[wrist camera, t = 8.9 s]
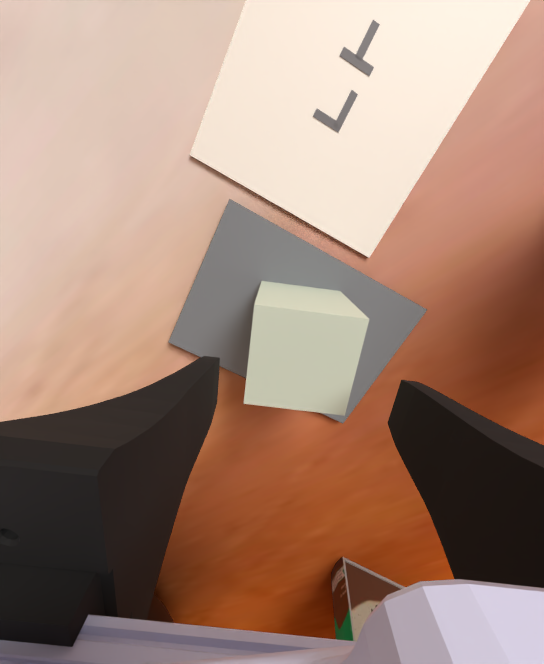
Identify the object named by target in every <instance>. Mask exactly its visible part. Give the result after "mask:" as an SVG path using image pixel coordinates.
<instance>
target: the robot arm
mask: <svg viewBox="0 0 544 664" xmlns="http://www.w3.org/2000/svg"><path fill="white" fill-rule="evenodd" d="M219 365H220V358H218V357H210V356H203V357H201V358H199V359H197V360H196V361H194V362H192V363H191V364H189V365H187V366H186V367H184V368H182V369H180V370H179V371H177V372H175V373H173V374H171V375H169V376H167V377H165V378H163V379H161V380H159V381H157V382H155V383H153V384H151V385H149V386H147V387H144V388H142V389H139V390H137V391H134V392H132V393H129V394H126V395H123V396H120V397H117V398H114V399H110V400H107V401H104V402H100V403H97V404H94V405H90V406H86V407H82V408H77V409H73V410H68V411H64V412H59V413H54V414H49V415H43V416H37V417H30V418H24V419H17V420H10V421H4V422H0V664H544V445H541V444H539V443H537V442H535V441H533V440H530V439H528V438H526V437H524V436H521V435H519V434H517V433H515V432H513V431H511V430H509V429H506V428H504V427H502V426H501V425H499V424H497V423H495V422H493V421H491V420H489V419H487V418H485V417H483V416H481V415H479V414H477V413H476V412H474V411H472V410H470V409H468V408H466V407H465V406H463V405H461V404H459V403H457V402H456V401H454V400H452V399H450V398H448V397H447V396H445V395H443V394H441V393H439V392H438V391H436V390H434V389H432V388H430V387H428V386H426V385H424V384H421V383H419V382H415V381H406V380H401V383H400V386H399V389H398V392H397V396H396V399H395V402H394V405H393V408H392V411H391V414H390V417H389V421H388V425H389V428H390V431H391V434H392V437H393V440H394V443H395V446H396V448H397V450H398V452H399V454H400V456H401V458H402V460H403V462H404V464H405V466H406V468H407V469H408V471H409V473H410V475H411V477H412V479H413V481H414V483H415V485H416V487H417V489H418V491H419V493H420V495H421V496H422V498H423V500H424V502H425V505H426V507H427V509H428V511H429V513H430V515H431V518H432V520H433V523H434V525H435V528H436V530H437V533H438V535H439V538H440V540H441V543H442V546H443V548H444V551H445V554H446V557H447V559H448V562H449V565H450V568H451V570H452V573H453V576H454V578H455V579H454V580H438V581H421V582H418V583H416V584H413V585H411V586H408V587H406V588H403V589H401V590H398V591H396V592H394V593H391V594H389V595H387V596H386V597H385V598H384V599H383V600H382V601H381V602H380V603H379V605H378V606H377V607H376V608H375V609H374V610H373V611H372V612H371V613H370V615H369V616H368V618H367V619H366V621H365V623H364V624H363V627H362V629H361V632H360V634H359V637H358V639H357V642H356V641H346V640H336V639H327V638H317V637H307V636H297V635H287V634H277V633H267V632H257V631H248V630H238V629H228V628H218V627H208V626H198V625H188V624H179V623H169V622H159V621H149V620H147V616H148V613H149V609H150V605H151V602H152V598H153V594H154V591H155V587H156V584H157V580H158V577H159V573H160V570H161V566H162V563H163V559H164V556H165V552H166V548H167V545H168V542H169V538H170V535H171V532H172V528H173V525H174V522H175V518H176V515H177V512H178V508H179V505H180V502H181V499H182V496H183V492H184V489H185V486H186V483H187V481H188V478H189V475H190V473H191V471H192V468H193V466H194V463H195V461H196V459H197V456H198V454H199V452H200V449H201V447H202V445H203V442H204V440H205V437H206V435H207V433H208V430H209V428H210V425H211V422H212V419H213V415H214V412H215V408H216V404H217V395H218V380H219Z"/></svg>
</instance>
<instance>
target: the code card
mask: <svg viewBox="0 0 544 664" xmlns="http://www.w3.org/2000/svg"><path fill="white" fill-rule="evenodd" d="M529 1H530V0H246V2H245V4H244V7H243V10H242V13H241V15H240V18H239V21H238V24H237V26H236V29H235V32H234V35H233V37H232V40H231V43H230V45H229V48H228V51H227V54H226V56H225V59H224V62H223V65H222V67H221V70H220V73H219V76H218V78H217V81H216V84H215V87H214V89H213V92H212V95H211V98H210V100H209V103H208V106H207V109H206V111H205V114H204V117H203V119H202V122H201V125H200V128H199V130H198V133H197V136H196V139H195V141H194V144H193V147H192V150H191V152H190V156H192V157H194V158H195V159H197V160H199V161H201V162H202V163H204V164H206V165H208V166H209V167H211V168H213V169H215V170H216V171H218V172H220V173H222V174H223V175H225V176H227V177H229V178H230V179H232V180H234V181H236V182H237V183H239V184H241V185H243V186H244V187H246V188H248V189H249V190H251V191H253V192H255V193H256V194H258V195H260V196H262V197H263V198H265V199H267V200H269V201H270V202H272V203H274V204H276V205H277V206H279V207H281V208H283V209H284V210H286V211H288V212H290V213H291V214H293V215H295V216H297V217H298V218H300V219H302V220H304V221H305V222H307V223H309V224H311V225H312V226H314V227H316V228H318V229H319V230H321V231H323V232H325V233H326V234H328V235H330V236H332V237H333V238H335V239H337V240H338V241H340V242H342V243H344V244H345V245H347V246H349V247H351V248H352V249H354V250H356V251H358V252H359V253H361V254H363V255H365V256H366V257H368V258H369V257H370V256H371V254H372V252H373V251H374V249H375V248H376V246H377V244H378V243H379V241H380V240H381V238H382V236H383V235H384V233H385V232H386V230H387V228H388V227H389V225H390V224H391V222H392V220H393V219H394V217H395V216H396V214H397V212H398V211H399V209H400V208H401V206H402V204H403V203H404V201H405V200H406V198H407V196H408V195H409V193H410V192H411V190H412V188H413V187H414V185H415V184H416V182H417V181H418V179H419V177H420V176H421V174H422V173H423V171H424V169H425V168H426V166H427V165H428V163H429V161H430V160H431V158H432V157H433V155H434V153H435V152H436V150H437V149H438V147H439V145H440V144H441V142H442V141H443V139H444V137H445V136H446V134H447V133H448V131H449V129H450V128H451V126H452V125H453V123H454V121H455V120H456V118H457V117H458V115H459V113H460V112H461V110H462V109H463V107H464V105H465V104H466V102H467V101H468V99H469V97H470V96H471V94H472V93H473V91H474V89H475V88H476V86H477V85H478V83H479V81H480V80H481V78H482V77H483V75H484V73H485V72H486V70H487V69H488V67H489V65H490V64H491V62H492V61H493V59H494V57H495V56H496V54H497V53H498V51H499V49H500V48H501V46H502V45H503V43H504V41H505V40H506V38H507V37H508V35H509V33H510V32H511V30H512V29H513V27H514V25H515V24H516V22H517V21H518V19H519V17H520V16H521V14H522V13H523V11H524V9H525V8H526V6H527V5H528V3H529Z"/></svg>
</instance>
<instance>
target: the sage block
mask: <svg viewBox="0 0 544 664" xmlns="http://www.w3.org/2000/svg"><path fill="white" fill-rule="evenodd" d="M368 323H369V318H368V317H367V316H366V315H365V314H364V313H363V312H362V311H360V310H359V309H358V308H357V307H356V306H355V305H354V304H353V303H352V302H351V301H350V300H349V299H348V298H347V297H346V296H345V295H344V294H343V293H342V292H341V291H336V290H329V289H321V288H313V287H306V286H298V285H290V284H282V283H275V282H267V281H261V284H260V288H259V291H258V294H257V297H256V300H255V304H254V312H253V321H252V330H251V339H250V349H249V358H248V367H247V376H246V386H245V395H244V404H251V405H259V406H268V407H276V408H285V409H293V410H302V411H310V412H318V413H327V414H335V415H344V416H345V413H346V409H347V405H348V401H349V397H350V393H351V389H352V385H353V381H354V378H355V374H356V370H357V366H358V362H359V358H360V354H361V350H362V346H363V342H364V339H365V335H366V331H367V327H368Z"/></svg>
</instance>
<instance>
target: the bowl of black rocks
mask: <svg viewBox="0 0 544 664" xmlns="http://www.w3.org/2000/svg"><path fill="white" fill-rule="evenodd" d="M147 620H149V621H159V622H169V623H174V621H173V619H172V618H171V616H170V614H169V612H168V611H167V609H166V607H165V606H164V605H163V603H162V602H161V601H160V600H159V598H158V597H157V596H156V595H155V594H153V598H152V602H151V605H150V609H149V613H148V616H147Z"/></svg>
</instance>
